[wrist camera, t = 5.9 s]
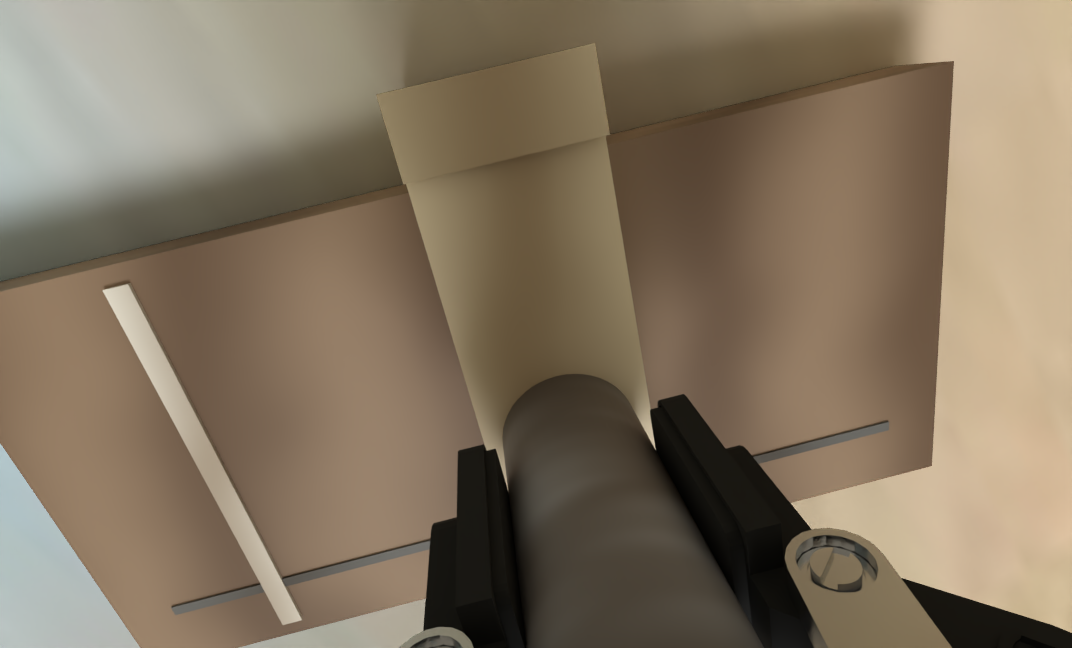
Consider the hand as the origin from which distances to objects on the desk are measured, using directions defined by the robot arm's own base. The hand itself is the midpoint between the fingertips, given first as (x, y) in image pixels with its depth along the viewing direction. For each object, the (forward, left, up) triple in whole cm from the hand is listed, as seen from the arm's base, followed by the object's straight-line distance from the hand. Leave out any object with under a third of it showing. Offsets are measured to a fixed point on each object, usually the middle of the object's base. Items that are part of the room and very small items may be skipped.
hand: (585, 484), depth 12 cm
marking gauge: (0, 0, -6) cm, 6 cm away
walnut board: (+1, 0, -6) cm, 6 cm away
